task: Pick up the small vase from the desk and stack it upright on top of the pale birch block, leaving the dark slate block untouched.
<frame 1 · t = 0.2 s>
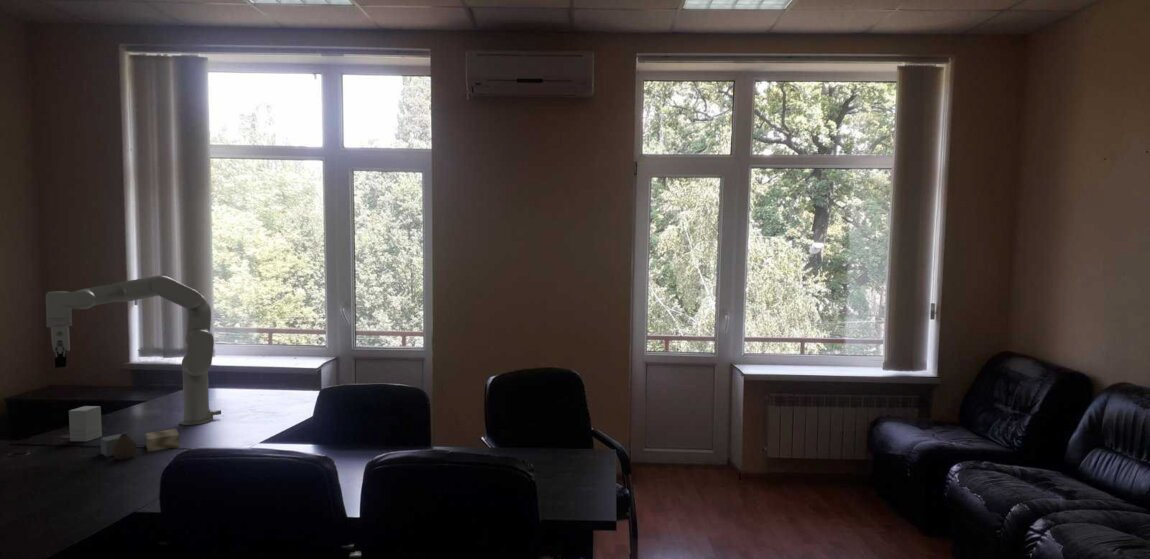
hand: (60, 365, 229), 31 cm above the table, fingers open, 9 cm apart
vase: (124, 458, 213), on the table
birch block: (162, 446, 227), on the table
slate block: (113, 453, 219), on the table
supplement box: (86, 439, 235), on the table
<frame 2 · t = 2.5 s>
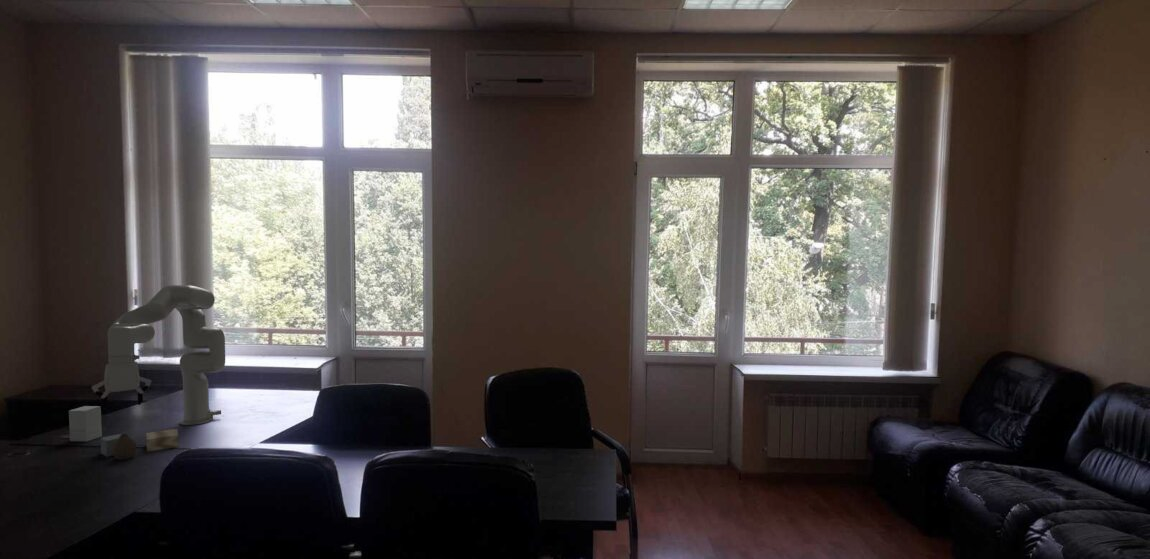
hand: (122, 406, 212), 19 cm above the table, fingers open, 9 cm apart
nothing on the table moved.
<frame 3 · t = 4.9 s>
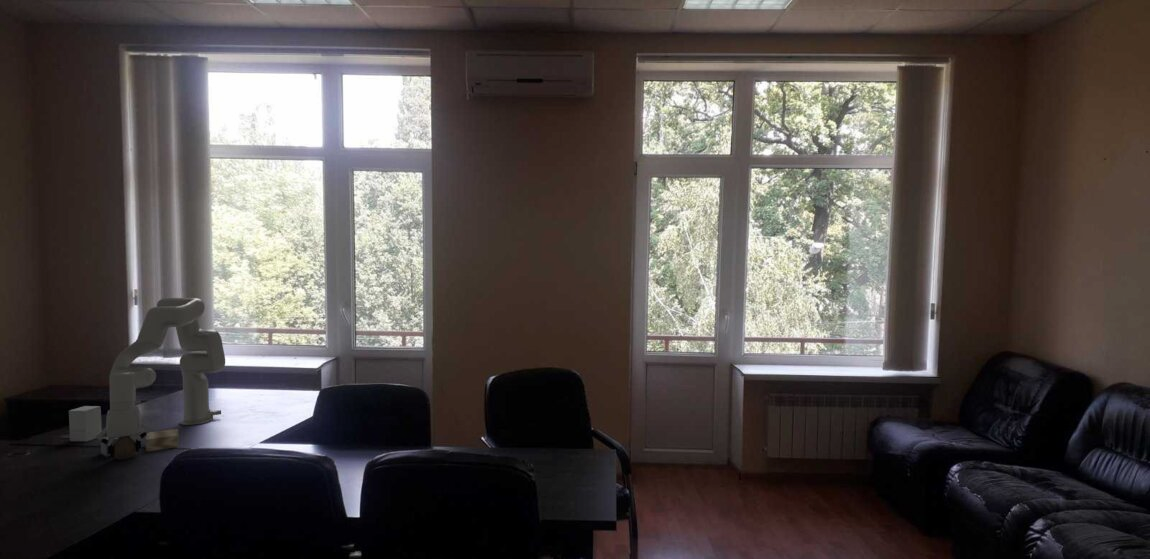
hand: (124, 452, 213), 2 cm above the table, fingers closed on vase, 6 cm apart
vase: (124, 458, 213), on the table, touching gripper
everything else where it was.
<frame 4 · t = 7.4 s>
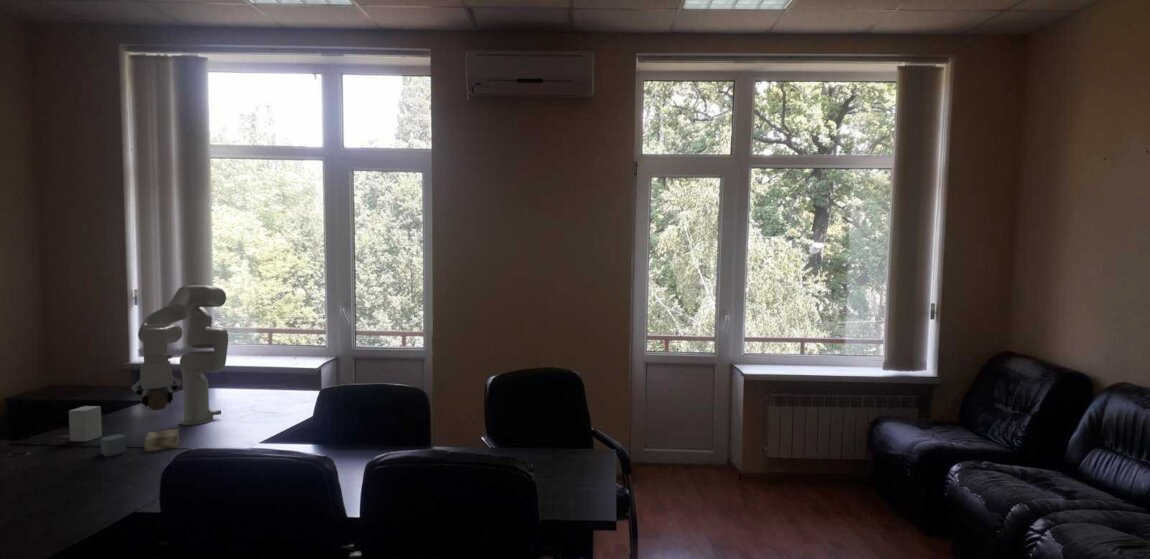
hand: (157, 403, 225), 17 cm above the table, fingers closed on vase, 6 cm apart
vase: (158, 409, 225), point 15 cm above the table, touching gripper
everything else where it was.
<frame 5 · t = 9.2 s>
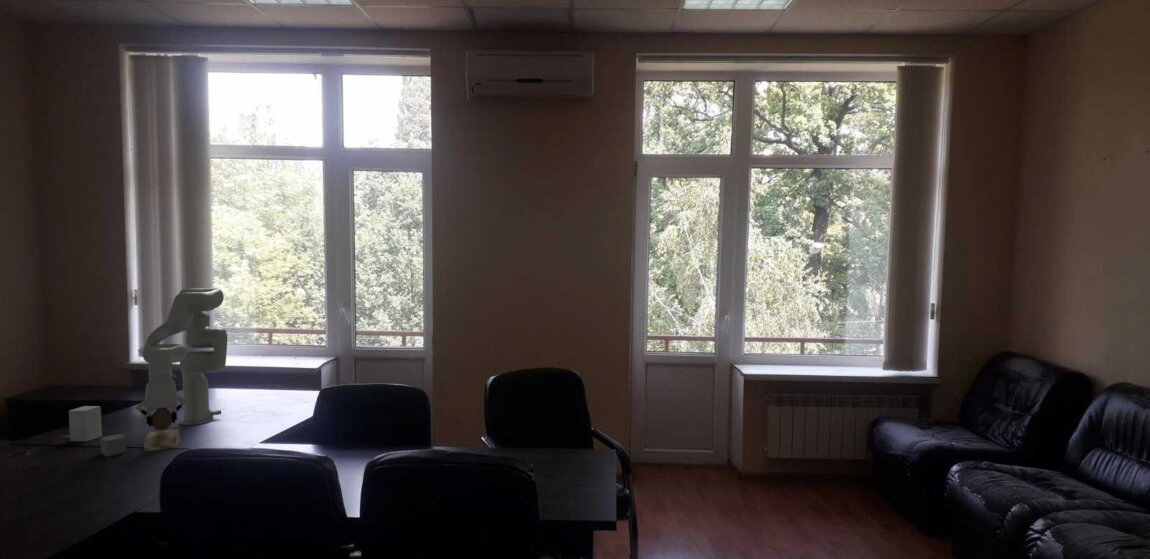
hand: (161, 423, 227), 9 cm above the table, fingers closed on vase, 6 cm apart
vase: (162, 429, 227), point 7 cm above the table, touching gripper
everything else where it was.
when the fingers open (8 cm above the table, at t = 10.2 s): vase drops 2 cm, resting on birch block.
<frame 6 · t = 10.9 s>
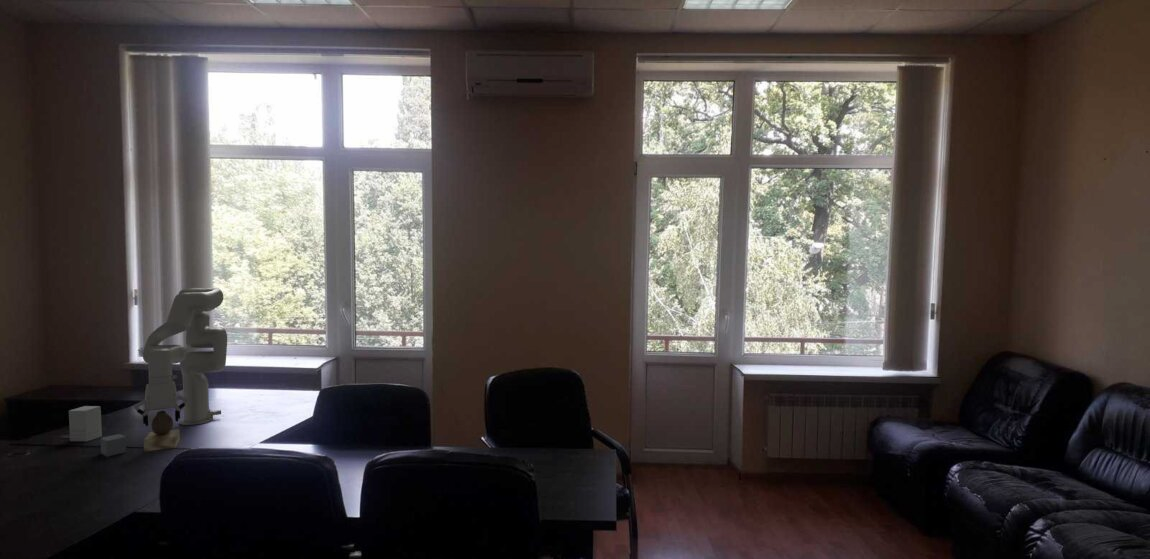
hand: (161, 423, 227), 9 cm above the table, fingers open, 9 cm apart
vase: (163, 433, 227), point 5 cm above the table, touching birch block
birch block: (162, 446, 227), on the table, touching vase
everything else where it was.
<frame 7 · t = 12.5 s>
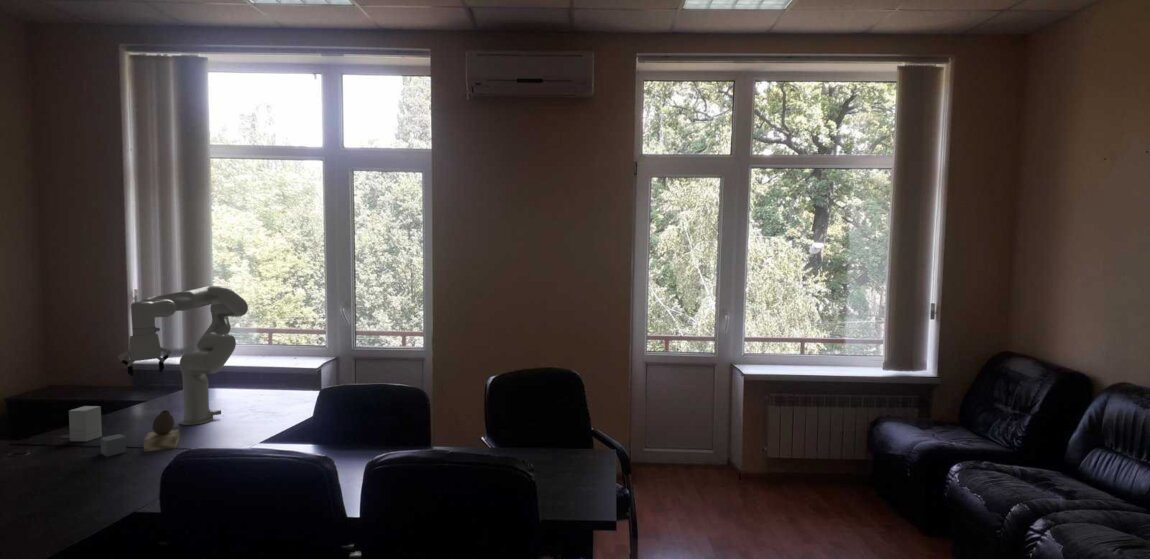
hand: (146, 373, 235), 27 cm above the table, fingers open, 9 cm apart
vase: (161, 433, 227), point 5 cm above the table
birch block: (162, 446, 227), on the table
everything else where it was.
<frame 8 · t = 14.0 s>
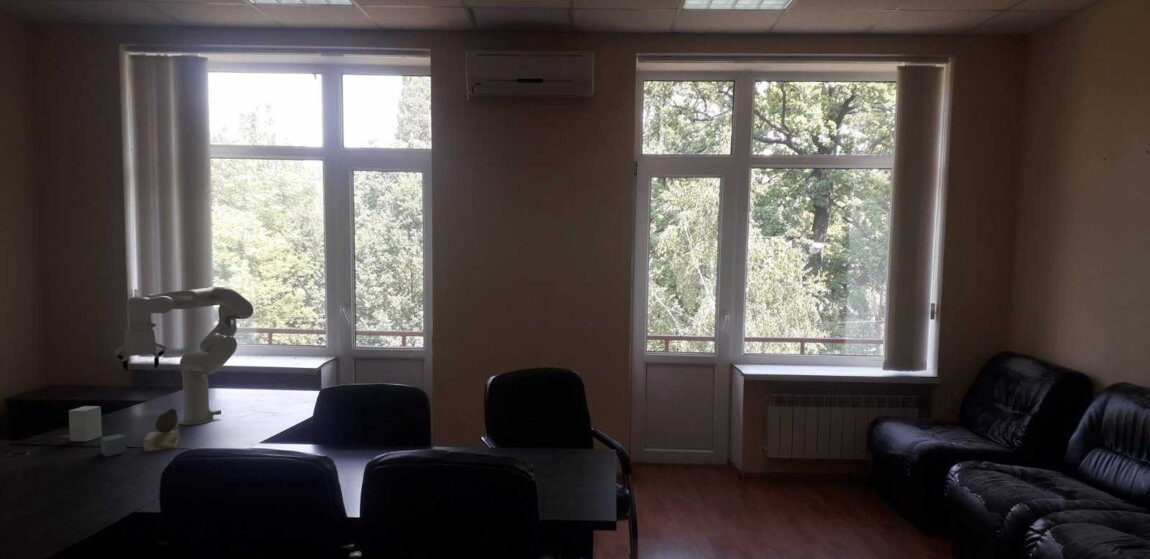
hand: (141, 368, 236), 28 cm above the table, fingers open, 9 cm apart
at the end: vase inside the target area on the birch block (0.7 cm from its centre), point 5.5 cm above the birch block's base; vase tilted 13°; the gripper is holding nothing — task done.
